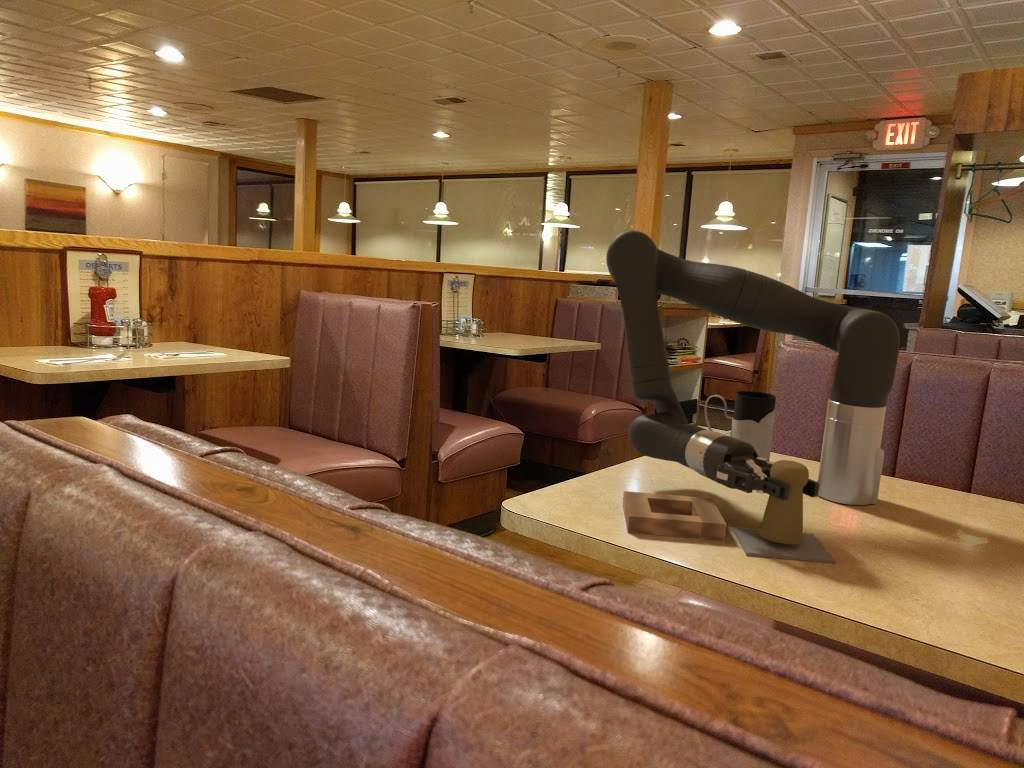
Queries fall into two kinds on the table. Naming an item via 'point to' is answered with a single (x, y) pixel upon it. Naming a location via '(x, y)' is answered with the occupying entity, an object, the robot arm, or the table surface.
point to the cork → (786, 505)
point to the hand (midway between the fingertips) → (801, 491)
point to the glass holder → (752, 419)
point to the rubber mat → (782, 547)
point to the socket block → (673, 516)
